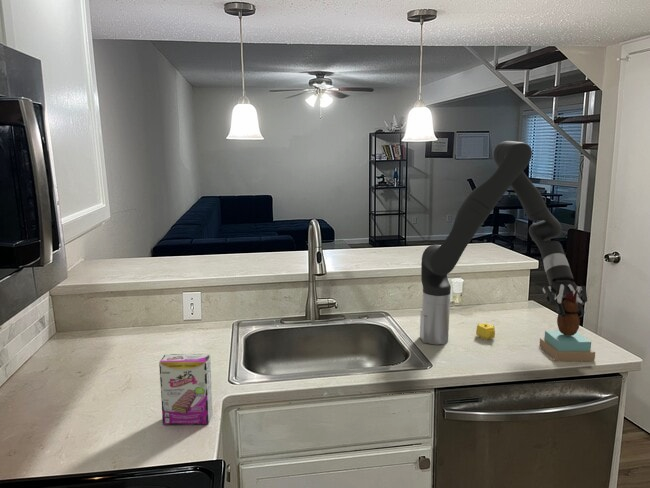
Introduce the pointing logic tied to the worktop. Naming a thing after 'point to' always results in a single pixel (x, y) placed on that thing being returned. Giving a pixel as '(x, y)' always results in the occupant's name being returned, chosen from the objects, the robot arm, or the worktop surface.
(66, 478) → the worktop surface
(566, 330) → the wooden figurine
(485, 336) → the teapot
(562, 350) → the tower base
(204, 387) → the candy bar box
